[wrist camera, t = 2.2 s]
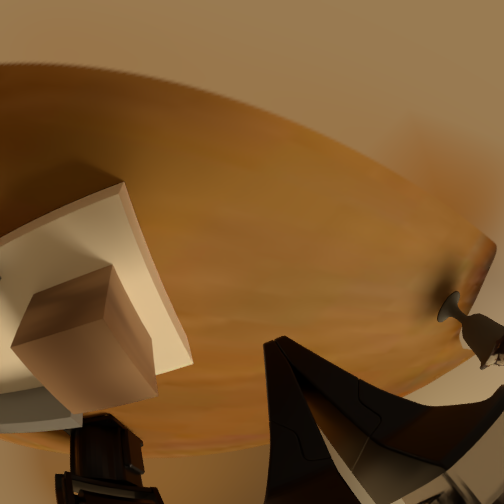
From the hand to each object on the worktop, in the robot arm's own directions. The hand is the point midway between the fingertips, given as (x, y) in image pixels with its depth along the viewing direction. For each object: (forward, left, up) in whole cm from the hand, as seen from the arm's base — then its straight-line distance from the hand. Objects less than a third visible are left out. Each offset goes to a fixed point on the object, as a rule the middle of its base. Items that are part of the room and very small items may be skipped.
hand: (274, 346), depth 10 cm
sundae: (+27, -19, -8) cm, 34 cm away
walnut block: (-8, 0, -5) cm, 10 cm away
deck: (-17, 0, -8) cm, 19 cm away
